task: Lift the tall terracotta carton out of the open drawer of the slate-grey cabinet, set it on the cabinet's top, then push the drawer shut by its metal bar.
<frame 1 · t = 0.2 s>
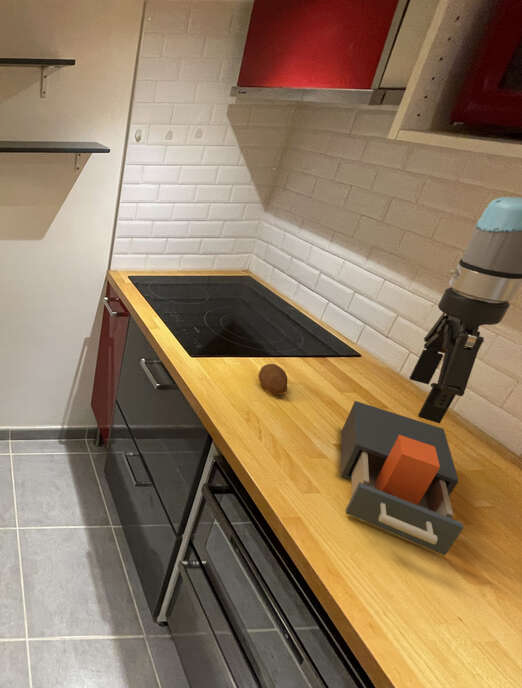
hand: (423, 399, 81), 21 cm above the worktop, tool pointing down, fingers open, 13 cm apart
potato: (269, 388, 118), on the worktop
cabinet: (384, 468, 93), on the worktop
box: (392, 498, 84), point 2 cm above the worktop, touching drawer
drawer: (398, 498, 81), point 4 cm above the worktop, slide at 10.0 cm, touching box
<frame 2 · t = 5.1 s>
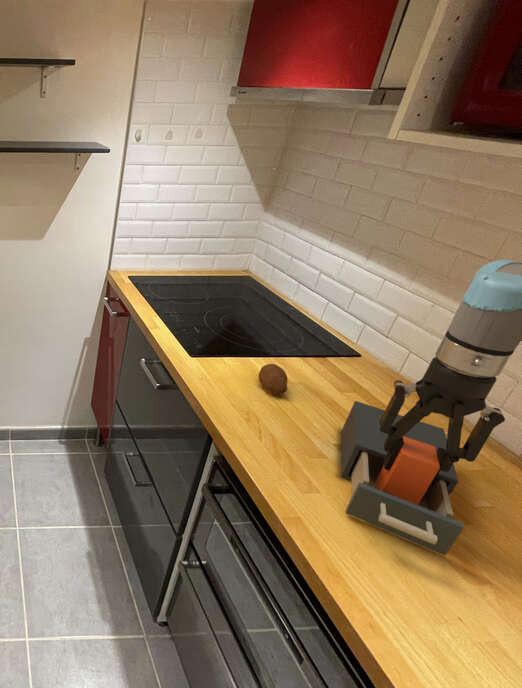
hand: (406, 472, 81), 9 cm above the worktop, tool pointing down, fingers closed on box, 5 cm apart
box: (392, 498, 84), point 2 cm above the worktop, touching drawer, gripper
everything else where it was.
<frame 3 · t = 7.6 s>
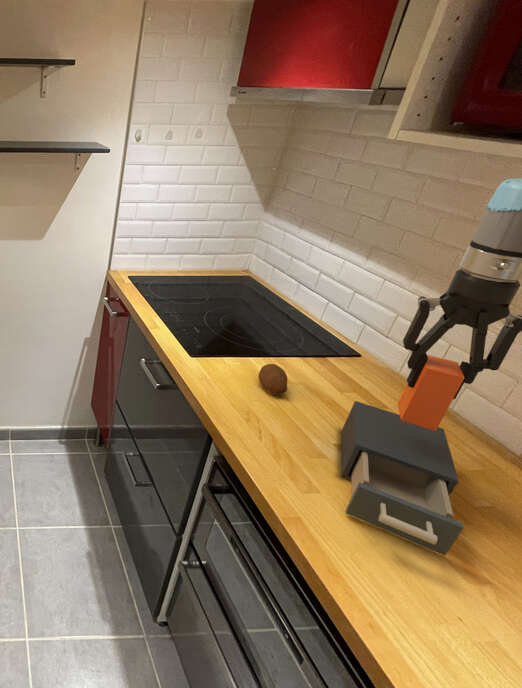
hand: (430, 388, 83), 21 cm above the worktop, tool pointing down, fingers closed on box, 5 cm apart
box: (415, 417, 86), point 15 cm above the worktop, touching gripper
drawer: (398, 498, 81), point 4 cm above the worktop, slide at 10.0 cm
everything else where it was.
when the fingers open (15 cm above the worktop, at t = 10.2 s): box stays where it is, resting on cabinet.
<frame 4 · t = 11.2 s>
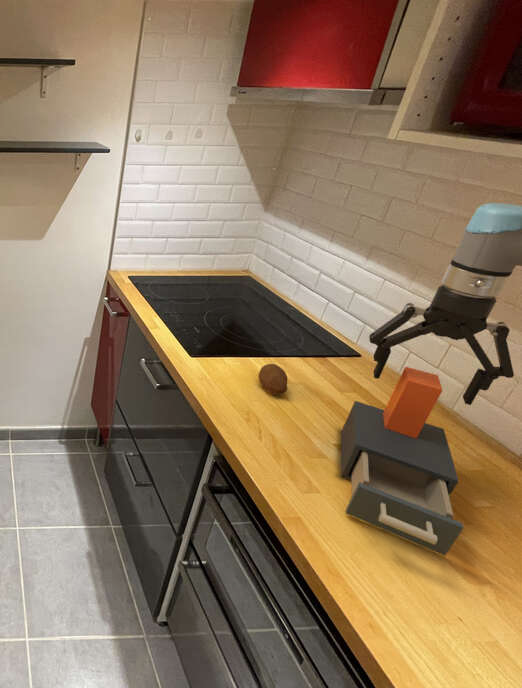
hand: (419, 387, 89), 18 cm above the worktop, tool pointing down, fingers open, 13 cm apart
box: (399, 425, 93), point 9 cm above the worktop, touching cabinet
everything else where it was.
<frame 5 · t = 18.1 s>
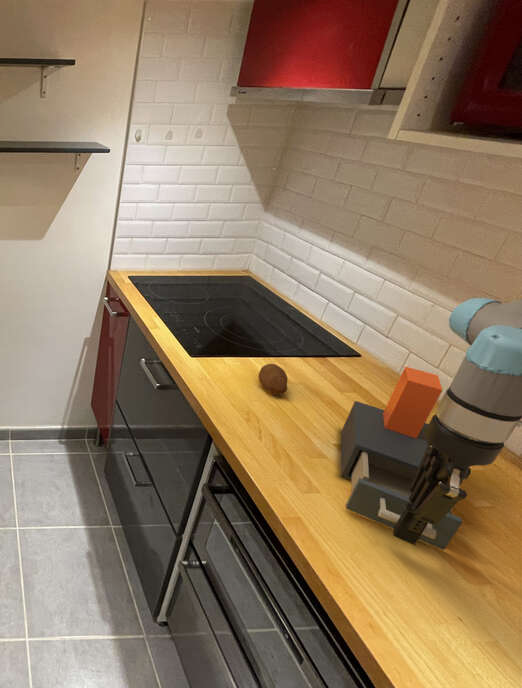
hand: (403, 537, 74), 4 cm above the worktop, tool pointing down, fingers closed
drawer: (397, 493, 82), point 4 cm above the worktop, slide at 8.8 cm, touching gripper
everything else where it was.
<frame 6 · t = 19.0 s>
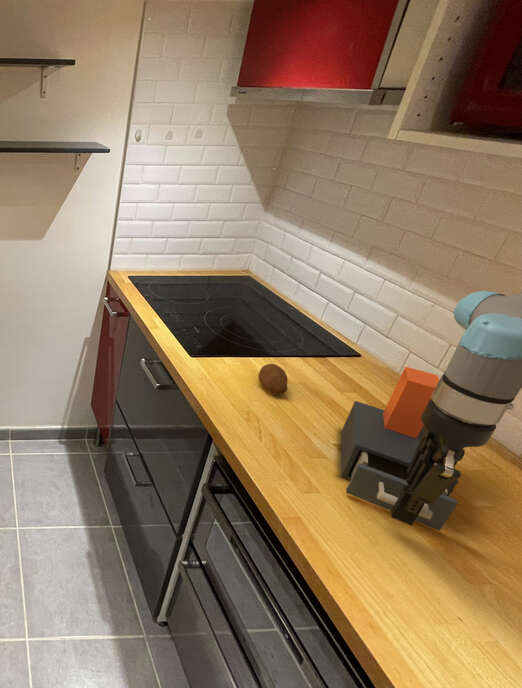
hand: (401, 518, 78), 4 cm above the worktop, tool pointing down, fingers closed
drawer: (395, 478, 85), point 4 cm above the worktop, slide at 4.3 cm, touching gripper
everything else where it was.
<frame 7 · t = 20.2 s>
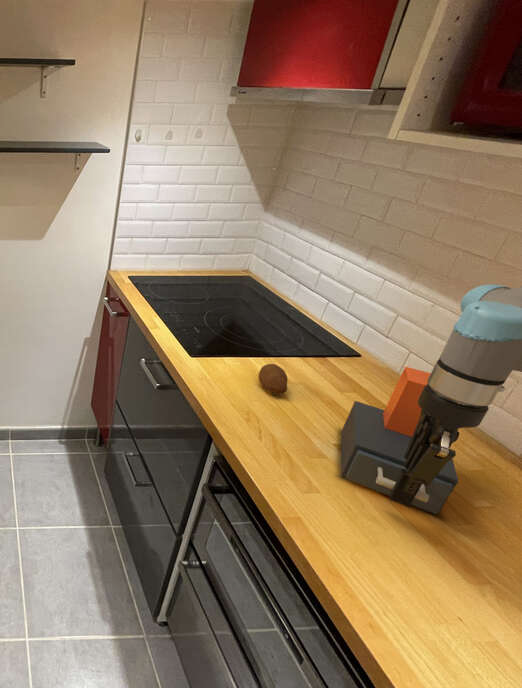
hand: (399, 501, 81), 4 cm above the worktop, tool pointing down, fingers closed
drawer: (394, 464, 89), point 4 cm above the worktop, slide at 0.0 cm, touching cabinet, gripper
everything else where it was.
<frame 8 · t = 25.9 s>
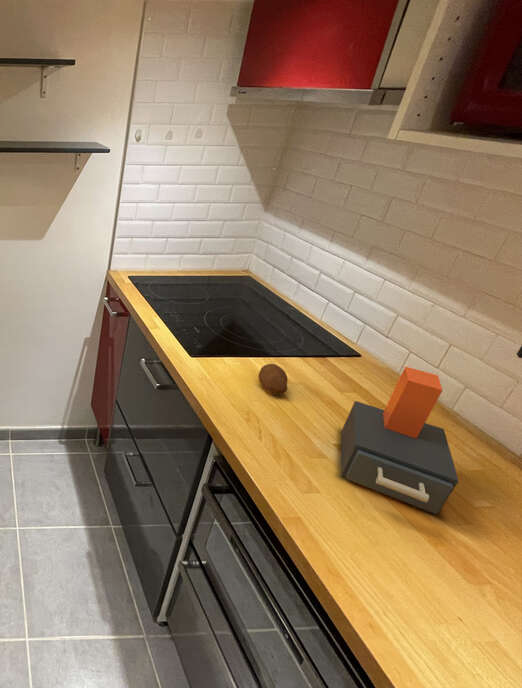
drawer: (394, 464, 89), point 4 cm above the worktop, slide at 0.0 cm, touching cabinet
everything else where it was.
at the end: box inside the target area on the cabinet (2.3 cm from its centre), point 8.8 cm above the cabinet's base; box tilted 0°; drawer slide at 0.0 cm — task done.
